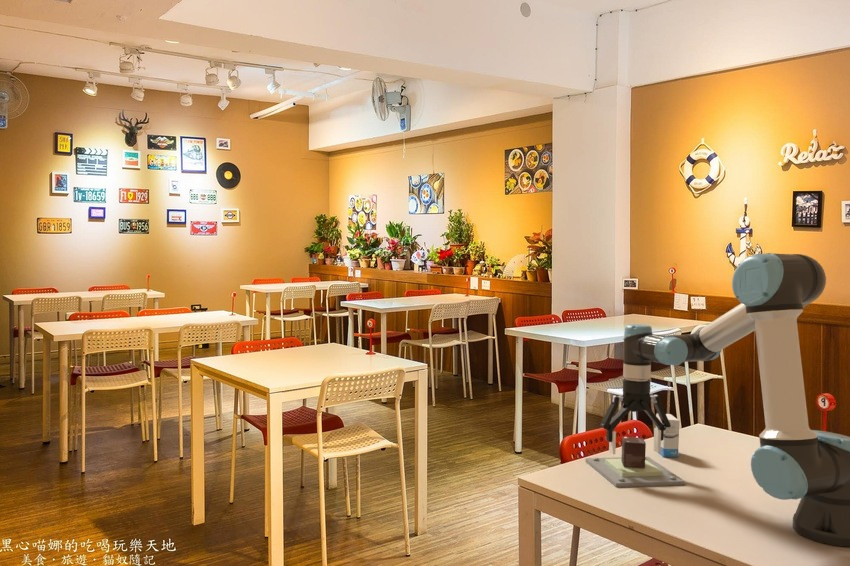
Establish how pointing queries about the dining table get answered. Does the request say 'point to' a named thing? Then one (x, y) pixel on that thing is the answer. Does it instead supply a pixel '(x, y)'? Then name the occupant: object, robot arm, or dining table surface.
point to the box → (633, 452)
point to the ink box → (670, 437)
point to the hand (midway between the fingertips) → (634, 452)
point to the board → (634, 473)
